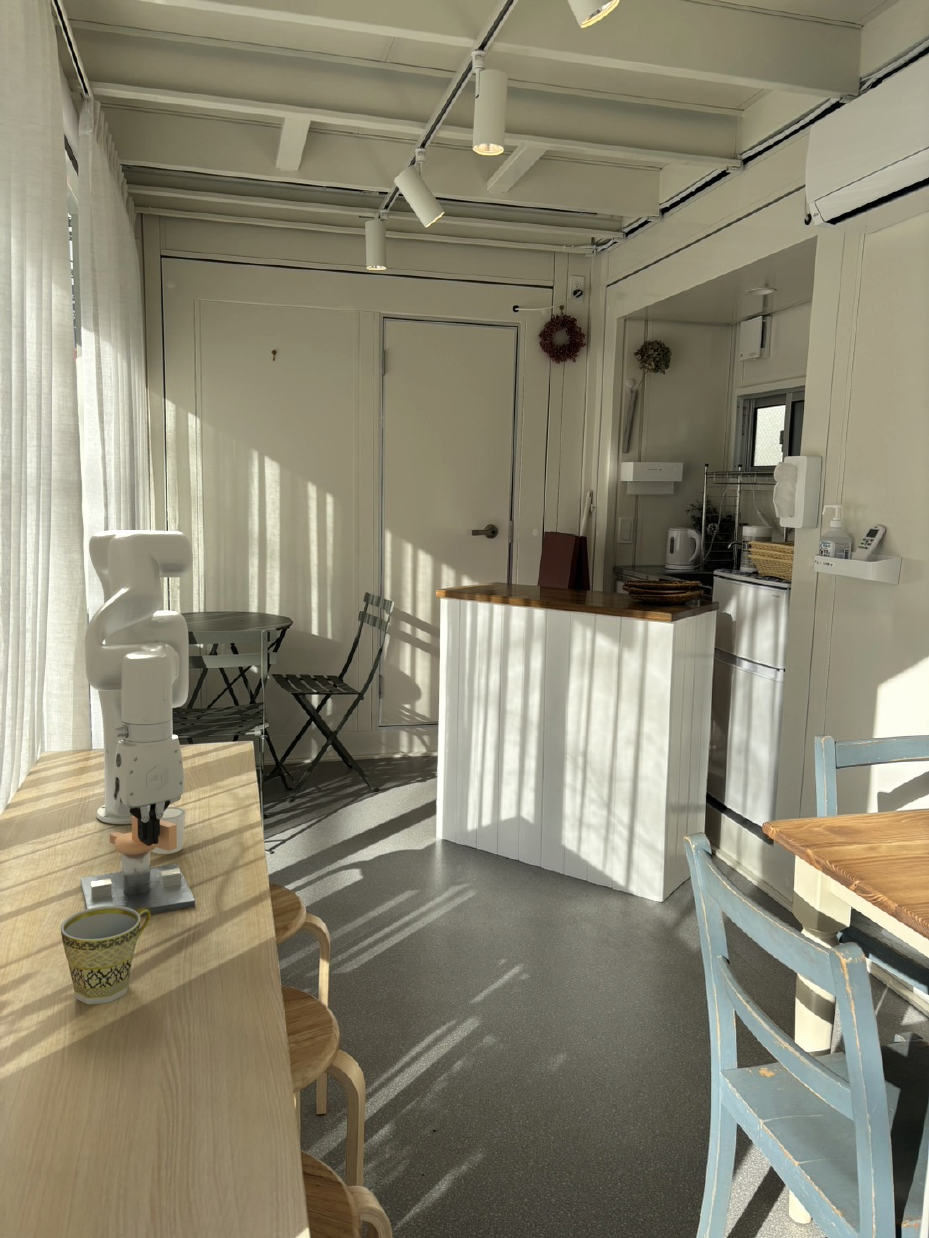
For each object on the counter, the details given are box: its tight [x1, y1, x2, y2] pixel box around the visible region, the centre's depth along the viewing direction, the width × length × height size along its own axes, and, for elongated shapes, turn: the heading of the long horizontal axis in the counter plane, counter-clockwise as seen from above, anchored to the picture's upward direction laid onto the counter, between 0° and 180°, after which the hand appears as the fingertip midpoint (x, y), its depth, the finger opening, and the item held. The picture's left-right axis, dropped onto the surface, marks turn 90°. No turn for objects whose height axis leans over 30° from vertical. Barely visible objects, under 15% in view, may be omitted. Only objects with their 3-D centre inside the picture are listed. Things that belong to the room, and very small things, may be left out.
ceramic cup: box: [60, 906, 152, 1006], centre depth 126 cm, size 13×10×10 cm
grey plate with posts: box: [80, 851, 196, 917], centre depth 154 cm, size 16×16×8 cm
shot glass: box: [151, 806, 187, 855], centre depth 175 cm, size 7×7×7 cm
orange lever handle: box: [109, 816, 177, 855], centre depth 153 cm, size 14×6×6 cm, turn 61°
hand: (148, 842), depth 148 cm, fingers closed
